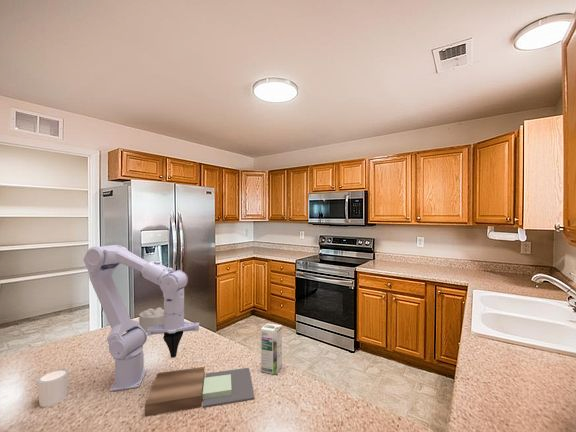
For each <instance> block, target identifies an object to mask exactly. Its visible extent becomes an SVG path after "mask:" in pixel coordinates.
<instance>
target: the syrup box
mask: <svg viewBox="0 0 576 432" xmlns="http://www.w3.org/2000/svg"><path fill="white" fill-rule="evenodd" d="M282 326H283V325H282V324H273V323H266V324H264V325H263V326H262V327H261V328H260V372H261V373H266V374H270V375H274V376H275V375H277V374H278V372H279V371H280V370H281V368H282V367H283V332H282V331H283V327H282Z"/></svg>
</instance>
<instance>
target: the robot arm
mask: <svg viewBox="0 0 576 432" xmlns="http://www.w3.org/2000/svg"><path fill="white" fill-rule="evenodd" d="M83 262H84V264H85V266H86V269H87V271H88V276H89V281H90V283H91V285H92V288H93V290H94V292H95V295H96V297H97V299H98V301H99V303H100V306H101V308H102V311H103V312H104V315H105V317H106V319H107V321H108V324H109V326H110V328H111V329H110V332H109V334H108V336H107V338H106V341H107V343H108V352H109V354H110V357H112V358H113V359H114V382H113V384H111V387H110V388H109V391H110V392H113V391H114V392H115V391H123V390H129V389H134V388H136V389H137V388H139V387H140V385H141V384H142V381H143V380H144V377H145V376H146V373H147V371H148V370H147V369H144V367H145V366H144V363H145V361H144V359H145V357H144V356H145V355H144V350H143V349H144V345H145V344H146V343H147V339H148V337H149V336H152V335H160V334H161V335H162V334H163V341H164V343H165V344H166V346H167V349H168V351H169V355H170V358H171V359H174V358H176V357H177V354H178V348H179V344H180V342H181V340H182V337H183V335H184V332H194V331H195V332H199V331H200V322H185V287H186V286H187V285H188V281H189V277H188V275H187V273H185V271H183V270H181V269H178V270H174V268H172V267H168V266H165V265H164V264H161V263H162V262H161V261H159V260H151V261H147V260H145V259H143V258H142V257H140V256H138V255H136V254H134V253H133V252H132V251H130V250H128V248H127V247H125V246H122V245H120V244H112V245H111V244H110V245H104V246H91V247H90V248H88V250H86V253H85V255H84V258H83ZM120 264H122V265H123V266H124V265H125V266H126V267H128V268H130V269H134V270H135V271H138V272H141V276H142V277H143V278H144V279H145V280H147V281H150V282H152V283H153V284H155V285H158V286H159V289H160V290H161V292H162V294H163V295H162V296H163V309H164V324H163V325H158V326H153V327H149V328H148V329H147V333H146V331H145V330H144V329H143V328H142V327H141V326H140V324H139V321H136V320H133V319H131V316H130V315H129V313H128V311H127V308H126V306H125V303H124V302H123V299H122V297H121V295H120V293H119V290H118V287H117V286H116V284H115V282H114V279H113V277H112V275H113V273H114V271H116V269H117V268H118V267H119V266H120Z"/></svg>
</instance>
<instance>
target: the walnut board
mask: <svg viewBox="0 0 576 432" xmlns="http://www.w3.org/2000/svg"><path fill="white" fill-rule="evenodd" d="M204 378H205V366H201V367H195V368H194V367H191V368H185V369H178V370H170V371H161V372H157V373H156V376H155V379H154V381H153V384H152V386H151V389H150V391H149V393H148V396H147V397H146V400H145V403H144V417H149V416H154V415H160V414H166V413H173V412H179V411H184V410H191V409H196V408H201V407H202V405H203V399H202V394H203V386H204Z"/></svg>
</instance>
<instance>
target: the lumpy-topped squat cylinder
mask: <svg viewBox="0 0 576 432" xmlns="http://www.w3.org/2000/svg"><path fill="white" fill-rule="evenodd" d="M138 315H139V317H138V322H139V324H140V326H141V327H142V328H143V329H144V330H145V331H146V334H147V329H148V328H149V327H153V326H158V325H163V324H164V308H162V307H157V308H148V309H147V310H146V309H145V310H143V311H141V312H140V313H139V314H138Z"/></svg>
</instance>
